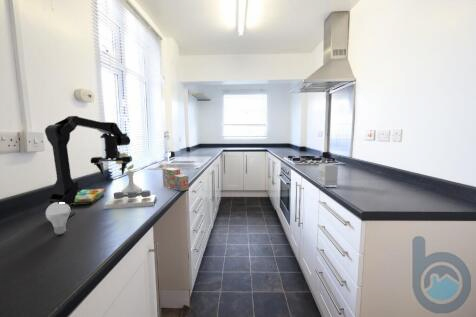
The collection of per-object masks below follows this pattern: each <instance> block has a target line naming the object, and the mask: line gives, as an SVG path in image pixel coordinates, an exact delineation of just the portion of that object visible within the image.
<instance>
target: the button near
mask: <svg viewBox="0 0 476 317" xmlns="http://www.w3.org/2000/svg"><path fill="white" fill-rule="evenodd" d="M123 197H125V195H124V194H123V192H121V191H117V192H114V193H113V198H114V199H120V198H123Z"/></svg>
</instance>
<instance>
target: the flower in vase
mask: <svg viewBox="0 0 476 317" xmlns="http://www.w3.org/2000/svg"><path fill="white" fill-rule="evenodd" d="M119 156H120V157H118V158H121V157H123V156H129V155H128V153H126V152H122V153H121V152H120V155H119ZM114 162H115V164H117V165H122V162H123V161H114ZM125 169H127V170H126V171H125V173H126V174H127V177H128V184H127V185H126V186H125V187H124V188H123V189H121V190H120V192H123V194H124V196H128V192H130V191H137V195H138V194H141V191H143V188H142V187H140V186H139V185H137V184H135V183H134V173H135V172H136V171H135V170H132V169H134V164H131V165H129V166H127V165H126V167H125ZM118 170H119V171H122V166H121V167H120V168H119V169H118Z"/></svg>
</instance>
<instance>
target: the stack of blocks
mask: <svg viewBox="0 0 476 317" xmlns="http://www.w3.org/2000/svg"><path fill="white" fill-rule="evenodd" d="M161 171H162V186H163V185H164V186H163V187H166V186H167V187H166V188H168V187H170V188H169V189H172V188H175V189H177V190H176V191H178V190H180V191H179V192H183V191H188V190H189V174H188V175H187V174H183V173H181V169H179V168H177V167H176V168H175V167H165V168H162V170H161ZM175 189H174V190H175Z"/></svg>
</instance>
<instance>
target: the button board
mask: <svg viewBox="0 0 476 317" xmlns="http://www.w3.org/2000/svg"><path fill="white" fill-rule="evenodd" d="M156 201H157V194H150V196H149V197H141V195H137V197H135V198H128V196H124V197H123V198H120V199H114V197H112V198H110V199H109V200H108V201H107V202H106V203H105V204H104V209H105V210H107V209H119V208H120V209H121V208H123V209H124V208H137V207H149V206H150V207H151V205H152V206H154V205H155V203H156ZM154 202H155V203H154Z"/></svg>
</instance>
